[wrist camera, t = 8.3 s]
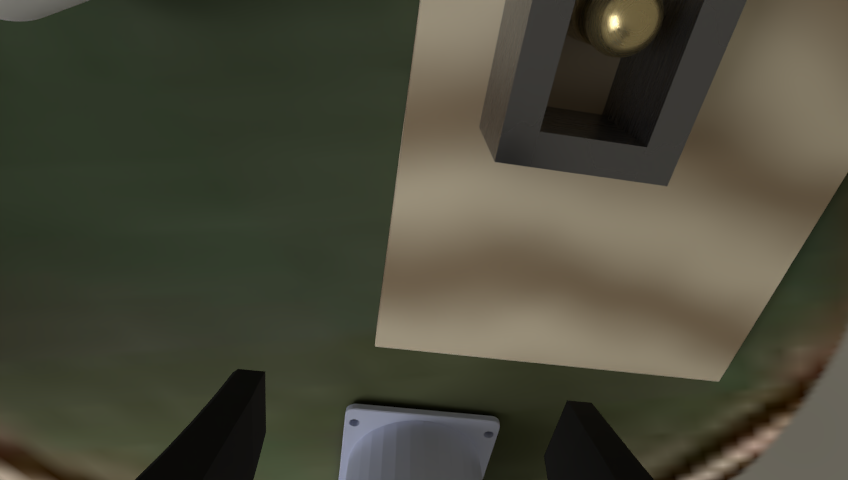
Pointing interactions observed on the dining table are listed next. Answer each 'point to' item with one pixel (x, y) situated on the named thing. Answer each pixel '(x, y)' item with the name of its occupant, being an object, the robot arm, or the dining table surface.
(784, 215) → the birch board
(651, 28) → the brass knob
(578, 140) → the dark grey open box
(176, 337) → the dining table surface
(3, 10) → the mug
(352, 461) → the robot arm
